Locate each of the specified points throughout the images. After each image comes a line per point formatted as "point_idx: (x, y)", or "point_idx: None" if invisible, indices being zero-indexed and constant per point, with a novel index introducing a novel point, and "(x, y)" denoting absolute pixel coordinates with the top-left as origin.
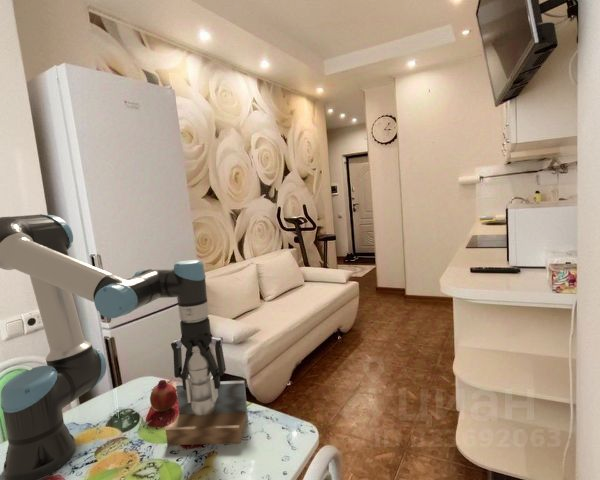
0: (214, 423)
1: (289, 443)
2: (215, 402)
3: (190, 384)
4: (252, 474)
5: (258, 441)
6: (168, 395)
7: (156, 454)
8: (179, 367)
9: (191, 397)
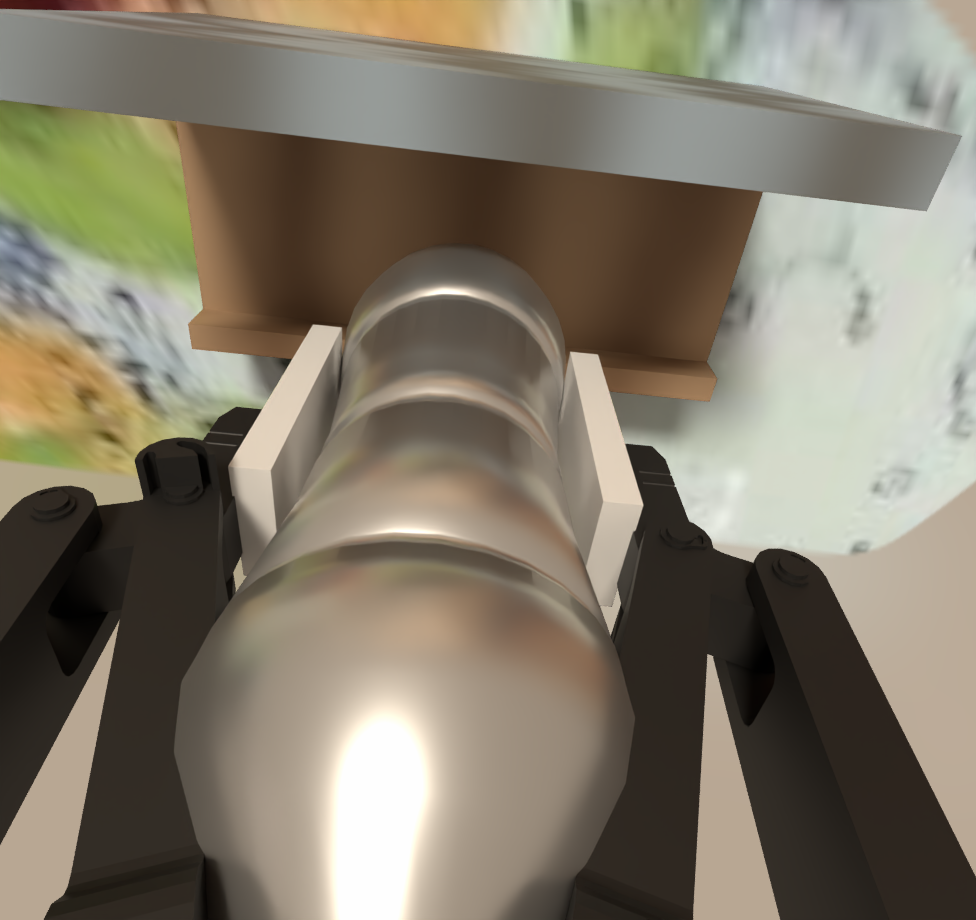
0: (521, 259)
1: (956, 393)
2: (565, 361)
3: (301, 475)
4: (722, 542)
5: (790, 353)
6: None
7: (208, 370)
8: (60, 678)
9: (336, 405)
